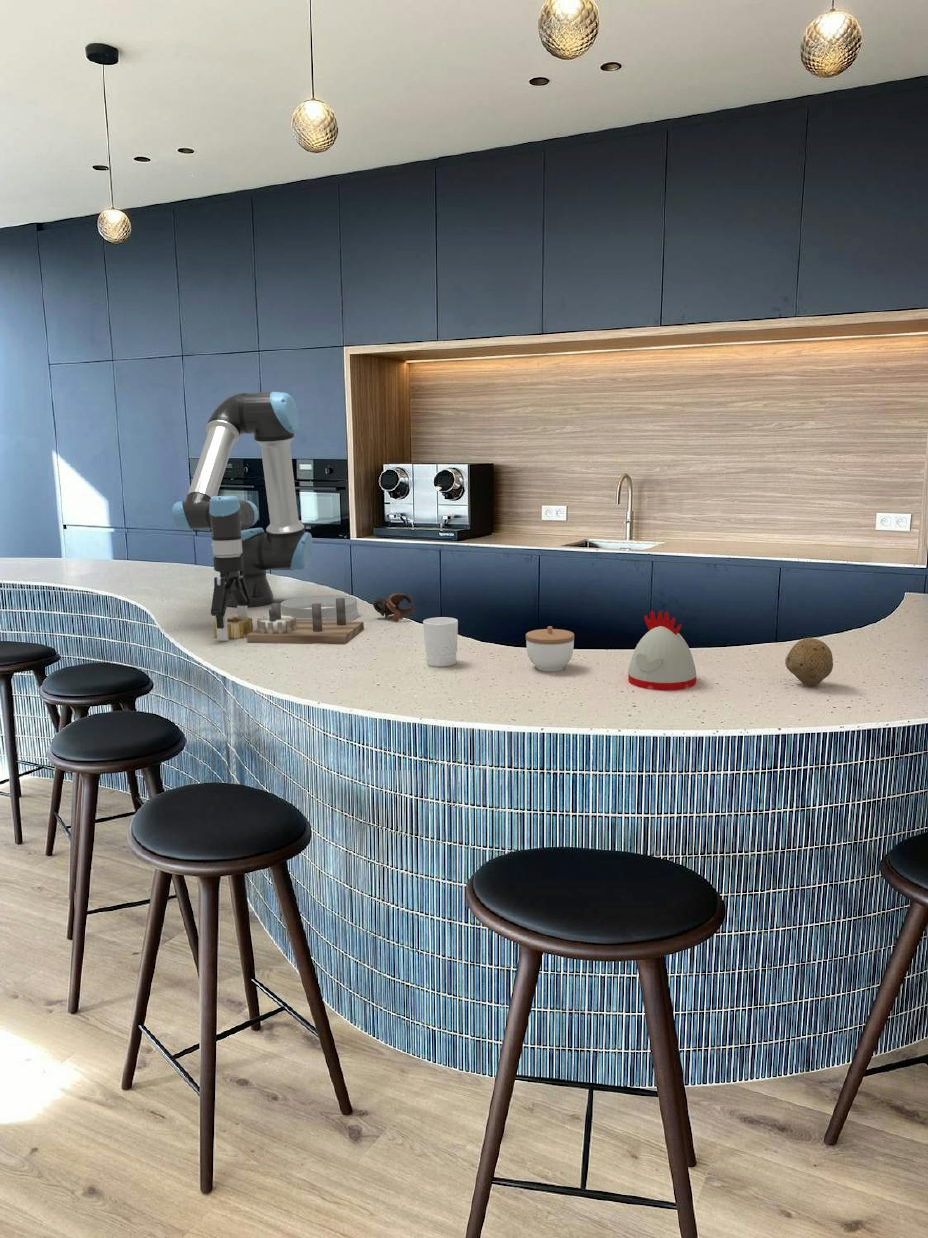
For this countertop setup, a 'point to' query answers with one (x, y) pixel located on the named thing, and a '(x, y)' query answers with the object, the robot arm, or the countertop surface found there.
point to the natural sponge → (810, 661)
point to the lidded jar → (550, 648)
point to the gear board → (305, 627)
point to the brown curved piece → (394, 606)
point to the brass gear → (237, 627)
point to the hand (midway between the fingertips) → (233, 634)
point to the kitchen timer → (662, 657)
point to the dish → (303, 607)
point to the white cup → (440, 641)
